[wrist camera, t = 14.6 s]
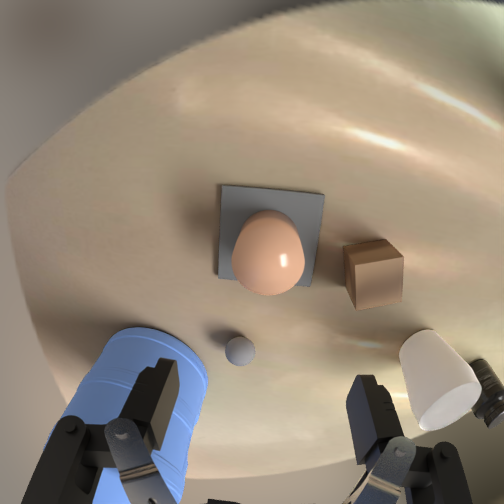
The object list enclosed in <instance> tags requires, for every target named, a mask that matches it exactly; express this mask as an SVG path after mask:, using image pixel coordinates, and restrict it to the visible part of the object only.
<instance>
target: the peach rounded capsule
mask: <svg viewBox="0 0 504 504" xmlns="http://www.w3.org/2000/svg"><path fill="white" fill-rule="evenodd" d="M231 261H232V269H233V272H234V275H235V277H236V278H237V280H238V281H239V282H240V284H242V285H243V286H244V287H245V288H246V289H248V290H250V291H252V292H254V293H257V294H261V295H276V294H280V293H283V292H285V291H287V290H289V289H290V288H292V287H293V286H294V285H295V284H296V283H297V282H298V280H299V279H300V277H301V276H302V273H303V270H304V265H305V259H304V253H303V249H302V245H301V241H300V237H299V233H298V229H297V227H296V225H295V223H294V222H293V221H292V220H291V218H289V217H288V216H287V215H285V214H284V213H281V212H279V211H275V210H263V211H259V212H257V213H255V214H253V215H251V216H250V217H249V218H248V219H247V220H246V221H245V222H244V224H243V226H242V228H241V230H240V233H239V236H238V239H237V242H236V245H235V247H234V250H233V254H232V259H231Z"/></svg>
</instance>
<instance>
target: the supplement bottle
mask: <svg viewBox="0 0 504 504" xmlns="http://www.w3.org/2000/svg"><path fill="white" fill-rule="evenodd" d="M469 366H470V367H471V368H472V370H473V372H474V374H475V376H476V378H477V379H478V381H479V383H480V385H481V388H482V391H481V394H480V397H479V399H478V400H477V402H476V403H475V404H474V406H473V407H472V408H471V409H472V411H473V413H474V415H475V417H476V418H478V419H484V422H485V424H486V425H487V427H488V428H489V429H491V428H493V427H495V426H497V425H498V424H500V423H501V422H502V421H503V420H504V386H503V384H502V383H501V381H500V380H499V378H498V377H497V375H496V374H495V372H494V371H493V369H492V368H491V367H490V365H489V364H488V362H487V361H485V360H478V361H475V362H474V363H472V364H471V365H469Z"/></svg>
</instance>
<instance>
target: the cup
mask: <svg viewBox="0 0 504 504" xmlns="http://www.w3.org/2000/svg"><path fill="white" fill-rule="evenodd" d="M399 359H400V363H401V367H402V371H403V375H404V379H405V384H406V388H407V392H408V397H409V401H410V406H411V409H412V412H413V413H414V415H415V417H416V419H417V421H418V424H419V426H420V428H421V429H423V430H426V431H432V430H437V429H440V428H443V427H446V426H448V425H450V424H452V423H453V422H455V421H456V420H458V419H459V418H461V417H462V416H463V415H465V414H466V413H467V412H468V411H469V410H470V409H471V408H472V407H473V406H474V404H475V403H476V402H477V400H478V399H479V397H480V394H481V391H482V388H481V385H480V383H479V381H478V379H477V378H476V376H475V374H474V372H473V370H472V368H471V367H470V366H469V365H468V363H467V362H466V361H465V360H464V359H463V358H462V357H461V356H460V355H459V354H458V353H457V352H456V351H455V350H454V349H453V348H452V347H451V346H450V345H449V344H448V343H447V342H446V341H445V340H444V339H443V338H442V337H441V336H440V335H439V334H438V333H437V332H435V331H434V330H430V329H426V330H422V331H419V332H417V333H415V334H413V335H412V336H411V337H409V338H408V339H407V340H406V341H405V342H404V344H403V345H402V347H401V349H400V352H399Z"/></svg>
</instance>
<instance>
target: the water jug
mask: <svg viewBox="0 0 504 504" xmlns="http://www.w3.org/2000/svg"><path fill="white" fill-rule="evenodd" d="M160 357H161V358H167V359H173V360H176V361H177V365H178V374H179V382H180V387H179V394H178V397H177V400H176V403H175V406H174V409H173V412H172V415H171V419H170V422H169V425H168V428H167V431H166V434H165V437H164V440H163V444H162V447H161V450H160V451H157V450H153V451H152V454H151V458H152V460H153V462H154V464H155V465H156V467H157V469H158V470H159V472H160V474H161V476H162V478H163V480H164V482H165V483H166V485H167V487H168V489H169V490H170V492H171V494H172V496H173V497H174V499H175V501H176V502H177V504H179V502H180V500H181V497H182V494H183V489H184V483H185V480H184V479H185V475H186V470H187V466H188V462H187V455H188V448H189V444H190V440H191V436H192V432H193V428H194V426H195V424H196V423H197V421H198V419H199V415H200V410H201V406H202V402H203V399H204V397H205V394H206V390H207V386H208V377H207V372H206V370H205V367H204V365H203V363H202V362H201V360H200V359H199V357H198V356H197V355H196V354H195V353H194V352H193V351H192V350H191V349H190V348H189V347H188V346H187V345H185V344H184V343H183V342H181V341H180V340H178V339H176V338H175V337H173V336H171V335H169V334H166V333H164V332H161V331H158V330H155V329H150V328H143V327H134V328H127V329H124V330H121V331H119V332H117V333H116V334H114V335H113V336H112V337H111V338H110V340H109V341H108V342H107V344H106V345H105V347H104V349H103V352H102V353H101V355H100V356H99V358H98V359H97V361H96V362H95V364H94V365H93V367H92V368H91V370H90V371H89V372H88V373H87V375H86V376H85V377H84V378H83V380H82V382H81V383H80V385H79V387H78V389H77V392H76V393H75V395H74V397H73V398H72V400H71V402H70V403H69V405H68V406H67V408H66V410H65V411H64V413H63V415H62V416H61V418H63V417H65V416H68V415H74V416H77V417H79V418H81V419H82V420H83V421H84V423H85V424H100V425H101V424H107V423H108V422H109V421H111V420H113V419H115V418H117V417H118V416H119V415H120V413H121V410H122V408H123V406H124V404H125V402H126V400H127V398H128V396H129V394H130V392H131V390H132V387H133V385H134V383H135V381H136V379H137V377H138V375H139V373H140V372H141V371H143V370H144V369H145V368H146V367H147V366H149V367H154V368H155V366H156V363H157V361H158V359H159V358H160ZM61 418H60V419H61ZM56 424H57V423H56ZM55 426H56V425H55ZM55 426H54V428H55ZM54 428H53V429H52V431H51V433H50V435H49V437H48V440H49V438H50V436H51V434H52V432H53V430H54ZM47 442H48V441H47ZM46 444H47V443H46ZM46 444H45V446H44V449H45V447H46ZM44 449H43V451H44ZM119 476H120V474H119V472H118V469H117V468H103V471H102V474H101V477H100V480H99V483H98V486H97V490H96V493H95V496H94V499H93V503H92V504H131V503H130V501H129V499H128V497H127V495H126V493H125V490H124V488H123V486H122V484H121V481H120V478H119Z"/></svg>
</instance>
